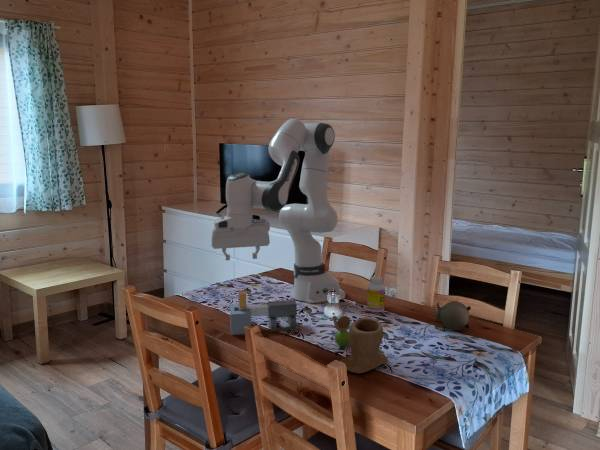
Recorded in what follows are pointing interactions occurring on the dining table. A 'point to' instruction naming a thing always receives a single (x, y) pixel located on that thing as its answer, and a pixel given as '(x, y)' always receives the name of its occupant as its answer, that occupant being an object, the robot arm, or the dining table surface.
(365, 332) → the stone cup
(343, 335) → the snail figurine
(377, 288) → the supplement bottle
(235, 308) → the cradle socket
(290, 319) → the grey arch block
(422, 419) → the dining table surface
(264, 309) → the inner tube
